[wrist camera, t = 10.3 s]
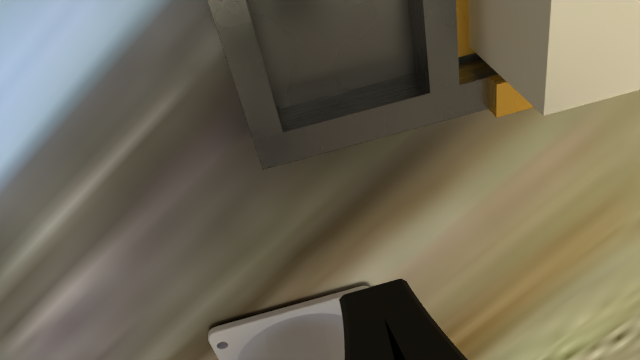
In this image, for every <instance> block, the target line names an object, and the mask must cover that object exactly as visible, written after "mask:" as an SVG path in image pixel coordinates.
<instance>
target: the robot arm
mask: <svg viewBox="0 0 640 360" xmlns="http://www.w3.org/2000/svg"><path fill="white" fill-rule="evenodd" d="M208 340H209V343H210V345H211V346H212V348H213V350H214V352H215V354H216V356H217V358H218V359H219V360H467V359H466V357H465V356H464V355H463V354H462V353H461V352H460V351H459V350H458V348H457V347H456V346H455V345H454V344H453V343H452V342H451V341H450V339H449V338H448V337H447V336H446V335H445V333H444V332H443V331H442V330H441V329H440V327H439V326H438V325H437V324H436V322H435V321H434V320H433V319H432V317H431V316H430V315H429V313H428V312H427V311H426V309H425V308H424V307H423V305H422V304H421V303H420V301H419V300H418V298H417V297H416V295H415V294H414V292H413V291H412V289H411V288H410V286H409V285H408V283H407V281H405V280H403V279H398V280H394V281H390V282H387V283H383V284H380V285H376V286H372V287H369V286H360V287H356V288H352V289H349V290H345V291H342V292H338V293H334V294H331V295H327V296H324V297H320V298H317V299H313V300H309V301H306V302H302V303H299V304H295V305H291V306H288V307H284V308H281V309H277V310H273V311H270V312H266V313H263V314H259V315H255V316H252V317H248V318H245V319H241V320H237V321H234V322H230V323H227V324H223V325H219V326H216V327H214V328H212V329H211V330H209V332H208Z"/></svg>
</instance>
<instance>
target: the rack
mask: <svg viewBox="0 0 640 360" xmlns="http://www.w3.org/2000/svg"><path fill="white" fill-rule="evenodd" d="M207 1H208V4H209V7H210V10H211V13H212V16H213V19H214V22H215V25H216V28H217V31H218V34H219V37H220V40H221V43H222V46H223V49H224V52H225V55H226V59H227V62H228V65H229V68H230V71H231V74H232V77H233V80H234V83H235V86H236V89H237V92H238V95H239V98H240V101H241V104H242V107H243V110H244V113H245V116H246V120H247V123H248V126H249V129H250V132H251V135H252V138H253V141H254V144H255V147H256V150H257V153H258V156H259V159H260V162H261V165H262V168H263V169H267V168H271V167H275V166H278V165H282V164H286V163H289V162H293V161H297V160H300V159H304V158H308V157H312V156H315V155H319V154H323V153H326V152H330V151H334V150H337V149H341V148H345V147H348V146H352V145H356V144H360V143H363V142H367V141H371V140H374V139H378V138H382V137H385V136H389V135H393V134H397V133H400V132H404V131H408V130H411V129H415V128H419V127H422V126H426V125H430V124H434V123H437V122H441V121H445V120H448V119H452V118H456V117H459V116H463V115H467V114H470V113H474V112H478V111H482V110H485V109H489V110H490V111H491V112H492V113H493V114H494V115H495V116H496V117H500V116H504V115H507V114H511V113H515V112H518V111H522V110H526V109H530V108H533V106H532V105H531V104H530V103H529V102H528V101H527V100H526V99H525V98H524V97H523V96H522V95H521V94H519V93H518V92H517V91H516V90H515V89H514V88H513V87H512V86H511V85H510V84H509V83H508V82H507V81H505V80H504V79H503V78H502V77H501V76H500V75H499V74H498V73H497V72H496V71H495V70H494V69H493V68H491V67H490V66H489V65H488V64H487V63H486V62H485V61H484V60H483V59H482V58H481V57H480V56H479V55H477V54H476V53H475V52H474V51H473V50H472V49H471V48H470V47H469V14H468V0H207Z"/></svg>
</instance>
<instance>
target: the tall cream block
mask: <svg viewBox="0 0 640 360" xmlns="http://www.w3.org/2000/svg"><path fill="white" fill-rule="evenodd" d="M468 14H469V47H470V48H471V49H472V50H473V51H474V52H475V53H476V54H477V55H479V56H480V57H481V58H482V59H483V60H484V61H485V62H486V63H487V64H488V65H489V66H490V67H491V68H493V69H494V70H495V71H496V72H497V73H498V74H499V75H500V76H501V77H502V78H503V79H504V80H505V81H507V82H508V83H509V84H510V85H511V86H512V87H513V88H514V89H515V90H516V91H517V92H518V93H519V94H521V95H522V96H523V97H524V98H525V99H526V100H527V101H528V102H529V103H530V104H531V105H532V106H533V107H535V108H536V109H537V110H538V111H539V112H540V113H541V114H542V115H543V116H545V115H549V114H553V113H556V112H560V111H564V110H567V109H571V108H575V107H578V106H582V105H586V104H589V103H593V102H597V101H600V100H604V99H608V98H611V97H615V96H619V95H622V94H626V93H630V92H633V91H637V90H640V0H468Z"/></svg>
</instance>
